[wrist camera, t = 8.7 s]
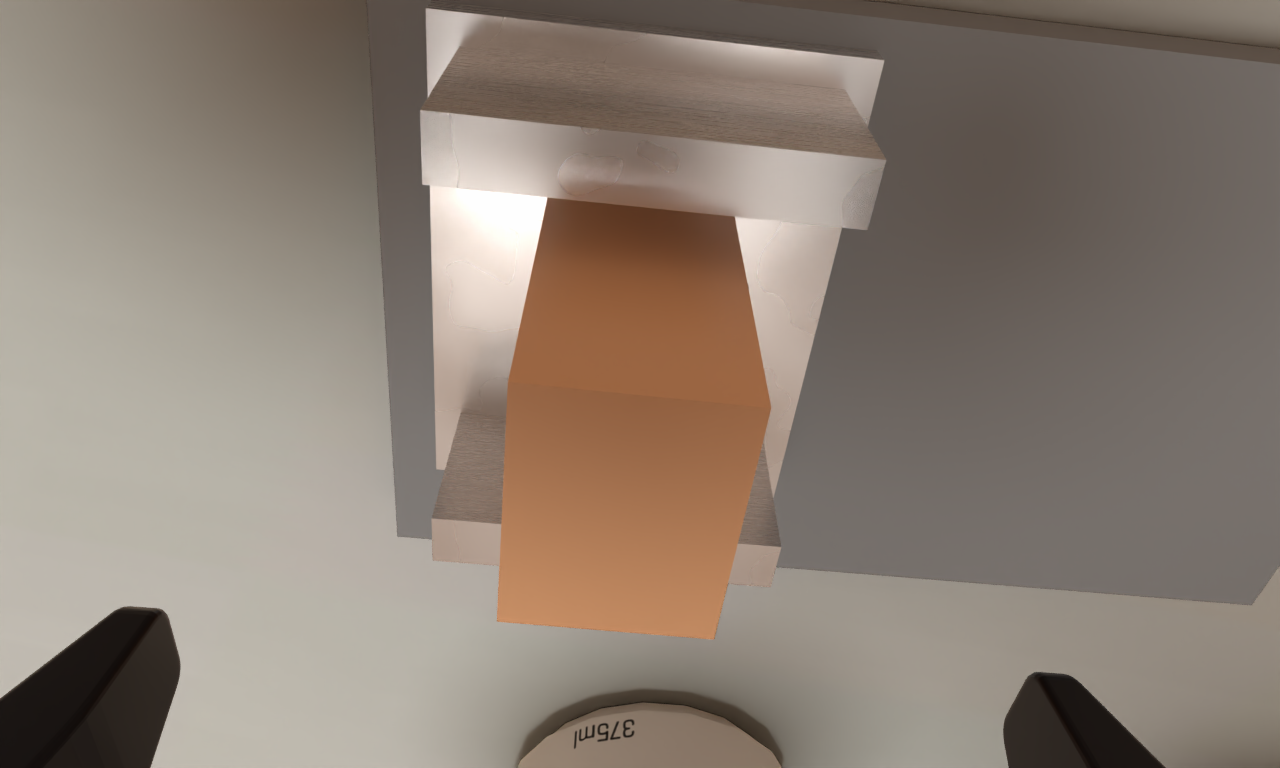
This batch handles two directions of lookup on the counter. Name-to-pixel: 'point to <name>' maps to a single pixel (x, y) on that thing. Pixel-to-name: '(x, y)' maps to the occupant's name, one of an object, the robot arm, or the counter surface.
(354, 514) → the counter surface
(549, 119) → the end holder
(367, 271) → the counter surface
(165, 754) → the counter surface
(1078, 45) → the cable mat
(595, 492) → the orange rectangular block
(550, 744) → the supplement can
